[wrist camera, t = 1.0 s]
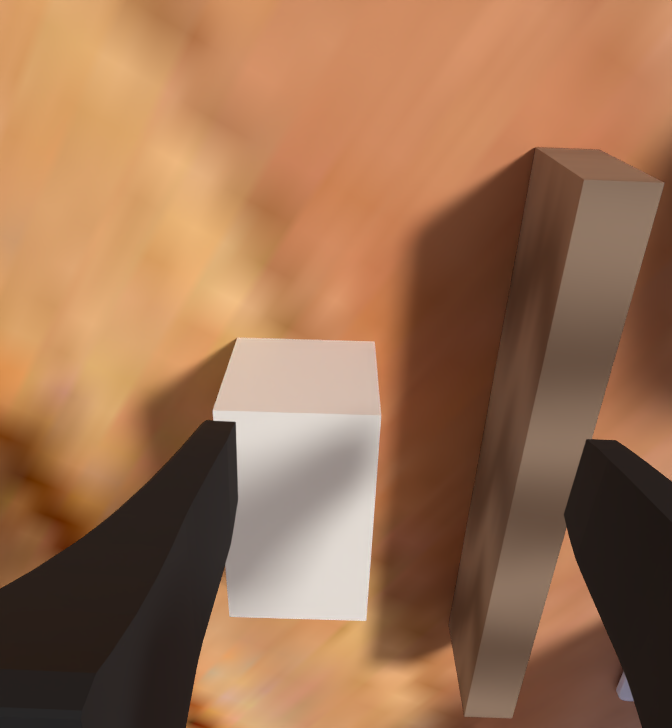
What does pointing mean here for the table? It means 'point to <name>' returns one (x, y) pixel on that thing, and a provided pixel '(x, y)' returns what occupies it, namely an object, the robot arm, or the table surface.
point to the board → (544, 405)
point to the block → (302, 476)
